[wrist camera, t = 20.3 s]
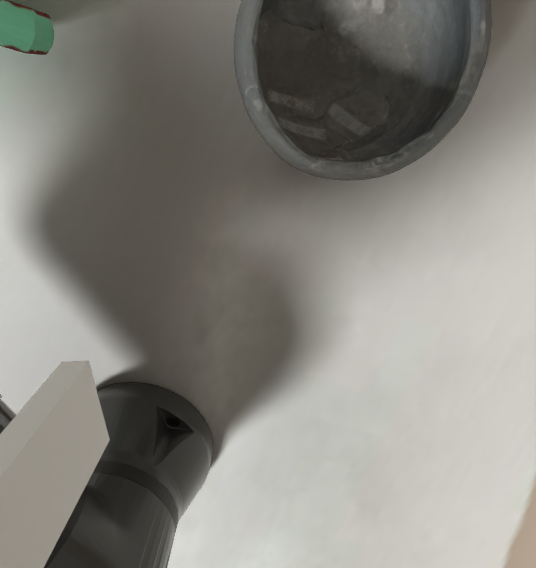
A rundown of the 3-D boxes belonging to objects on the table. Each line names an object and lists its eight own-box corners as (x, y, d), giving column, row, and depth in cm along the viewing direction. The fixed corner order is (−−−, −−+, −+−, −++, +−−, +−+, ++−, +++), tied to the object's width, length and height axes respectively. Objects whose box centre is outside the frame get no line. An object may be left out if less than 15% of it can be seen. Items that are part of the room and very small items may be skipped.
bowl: (449, 149, 35) (508, 168, 26) (262, 179, 36) (253, 206, 27) (448, -83, 29) (521, -165, 20) (226, -36, 31) (200, -93, 22)
